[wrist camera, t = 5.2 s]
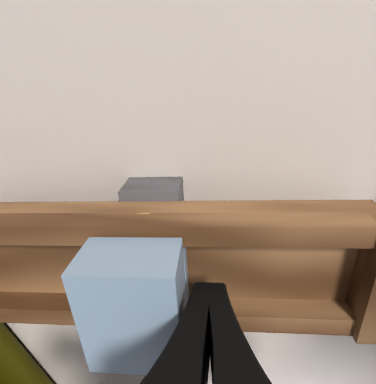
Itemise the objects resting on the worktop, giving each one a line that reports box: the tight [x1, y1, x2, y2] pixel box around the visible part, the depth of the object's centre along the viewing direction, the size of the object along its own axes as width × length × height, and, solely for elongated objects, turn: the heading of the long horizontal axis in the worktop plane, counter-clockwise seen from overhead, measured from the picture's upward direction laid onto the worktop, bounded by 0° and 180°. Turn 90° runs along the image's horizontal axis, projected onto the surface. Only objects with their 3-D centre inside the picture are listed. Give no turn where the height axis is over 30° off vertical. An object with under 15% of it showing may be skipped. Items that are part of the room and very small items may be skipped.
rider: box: [61, 237, 189, 375], centre depth 12 cm, size 5×4×4 cm
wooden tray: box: [0, 177, 376, 344], centre depth 15 cm, size 7×21×5 cm, turn 93°
